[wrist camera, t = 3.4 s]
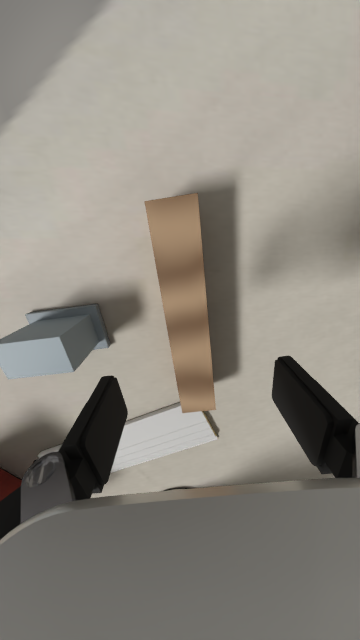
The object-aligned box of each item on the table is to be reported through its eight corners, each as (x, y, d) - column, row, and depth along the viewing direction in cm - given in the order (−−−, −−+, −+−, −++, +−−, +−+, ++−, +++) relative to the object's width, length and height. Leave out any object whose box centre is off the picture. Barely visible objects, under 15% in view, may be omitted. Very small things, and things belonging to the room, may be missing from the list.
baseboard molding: (219, 438, 33) (194, 393, 29) (223, 455, 31) (196, 407, 27) (80, 482, 38) (42, 447, 34) (73, 500, 35) (31, 464, 31)
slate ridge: (110, 344, 25) (86, 378, 19) (48, 352, 25) (3, 387, 19) (97, 303, 23) (65, 325, 16) (29, 312, 23) (-29, 337, 17)
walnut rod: (209, 382, 28) (215, 409, 23) (181, 386, 28) (182, 413, 24) (192, 206, 19) (197, 192, 15) (152, 212, 19) (144, 201, 15)
